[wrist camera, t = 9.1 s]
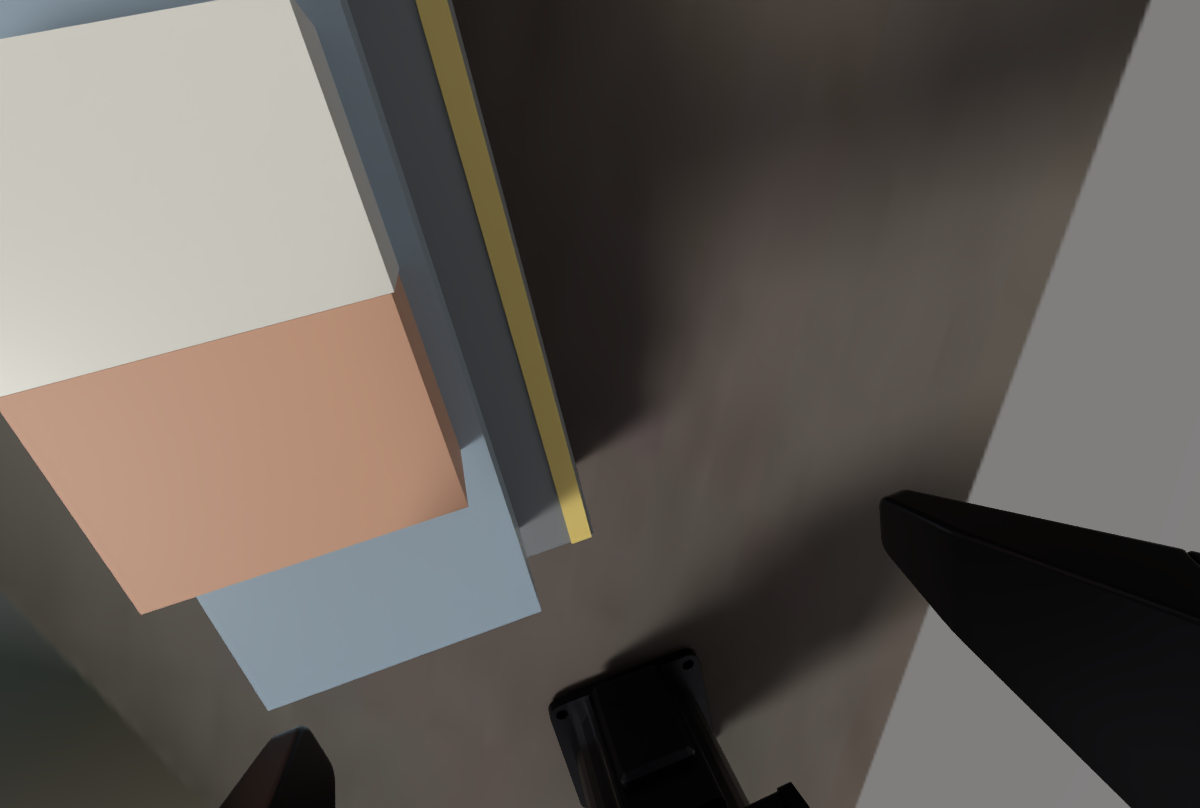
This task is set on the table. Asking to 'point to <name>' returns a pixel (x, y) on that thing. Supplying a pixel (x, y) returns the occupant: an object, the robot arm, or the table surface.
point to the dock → (475, 256)
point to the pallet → (401, 558)
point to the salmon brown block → (249, 449)
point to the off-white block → (174, 187)
